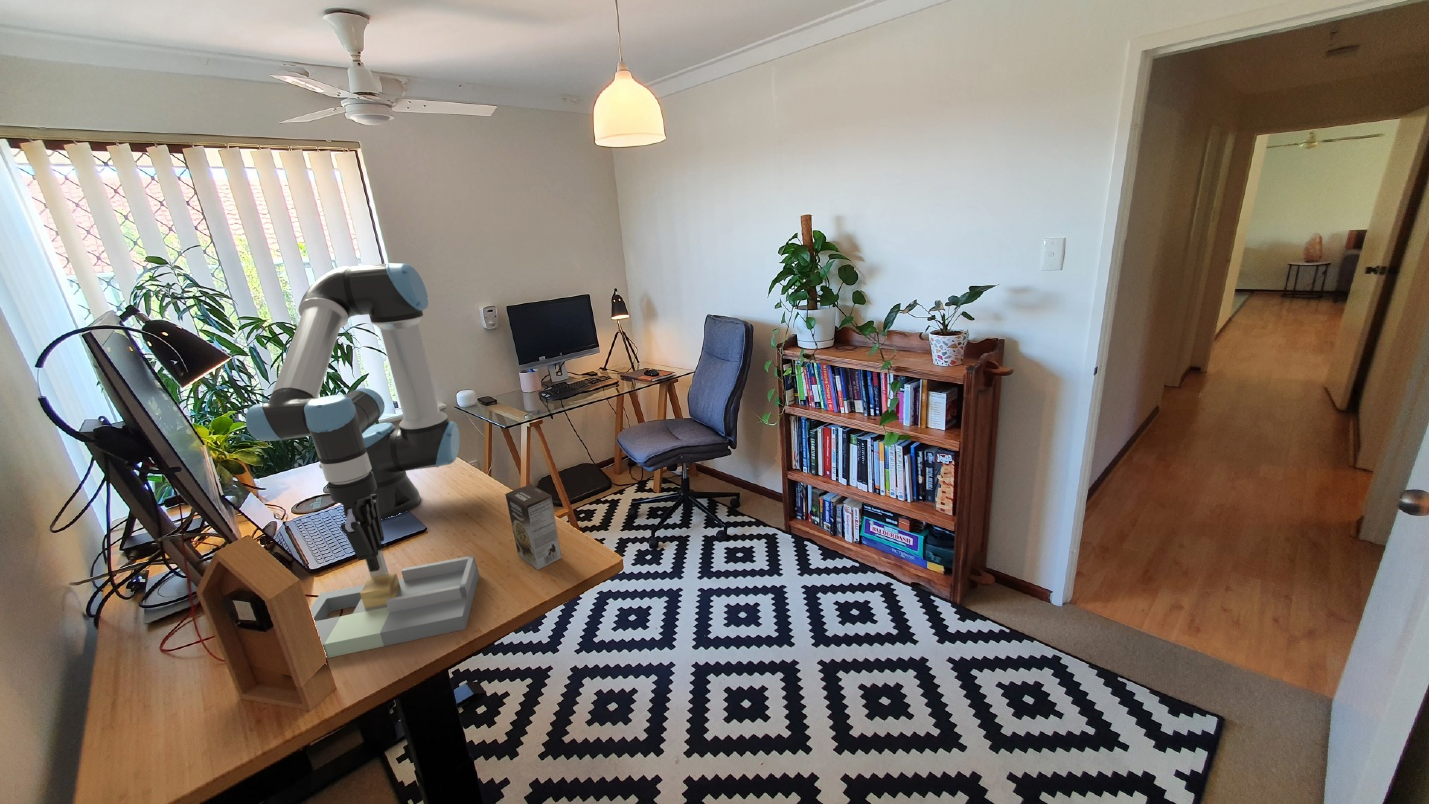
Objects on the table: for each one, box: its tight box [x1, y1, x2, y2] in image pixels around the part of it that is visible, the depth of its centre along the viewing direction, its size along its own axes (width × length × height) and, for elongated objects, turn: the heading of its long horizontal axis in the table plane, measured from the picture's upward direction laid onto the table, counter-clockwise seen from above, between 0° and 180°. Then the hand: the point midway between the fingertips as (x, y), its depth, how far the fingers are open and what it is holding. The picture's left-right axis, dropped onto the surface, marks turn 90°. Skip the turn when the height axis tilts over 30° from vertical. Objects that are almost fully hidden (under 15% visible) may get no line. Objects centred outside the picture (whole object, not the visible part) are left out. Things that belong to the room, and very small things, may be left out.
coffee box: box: [504, 483, 562, 571], centre depth 121 cm, size 9×6×16 cm
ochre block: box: [360, 572, 400, 608], centre depth 107 cm, size 5×5×4 cm
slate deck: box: [310, 554, 480, 659], centre depth 106 cm, size 17×30×6 cm, turn 104°
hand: (381, 580), depth 111 cm, fingers closed
